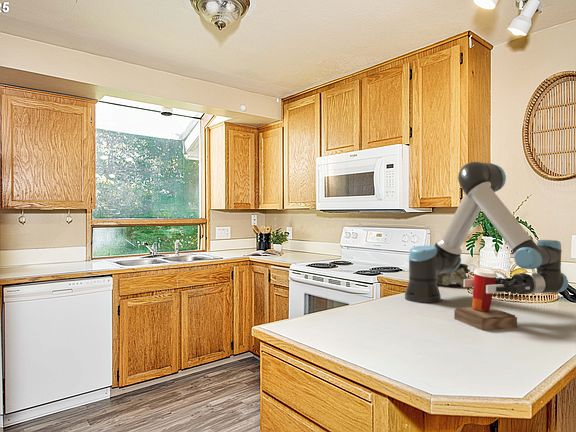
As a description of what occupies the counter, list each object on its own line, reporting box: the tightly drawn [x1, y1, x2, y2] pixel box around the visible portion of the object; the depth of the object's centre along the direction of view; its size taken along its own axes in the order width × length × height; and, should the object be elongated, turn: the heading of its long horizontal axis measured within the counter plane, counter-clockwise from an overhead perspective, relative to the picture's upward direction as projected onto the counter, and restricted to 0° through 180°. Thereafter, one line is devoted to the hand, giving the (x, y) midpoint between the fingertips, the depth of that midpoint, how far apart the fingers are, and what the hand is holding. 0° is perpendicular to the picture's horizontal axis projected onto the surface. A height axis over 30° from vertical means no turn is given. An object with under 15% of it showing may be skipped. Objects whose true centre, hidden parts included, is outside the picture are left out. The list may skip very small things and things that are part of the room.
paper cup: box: [471, 268, 499, 312], centre depth 141 cm, size 8×8×14 cm
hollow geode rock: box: [437, 263, 471, 288], centre depth 209 cm, size 28×13×15 cm
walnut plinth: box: [453, 306, 518, 331], centre depth 140 cm, size 14×14×4 cm
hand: (475, 286), depth 138 cm, fingers open, 10 cm apart
